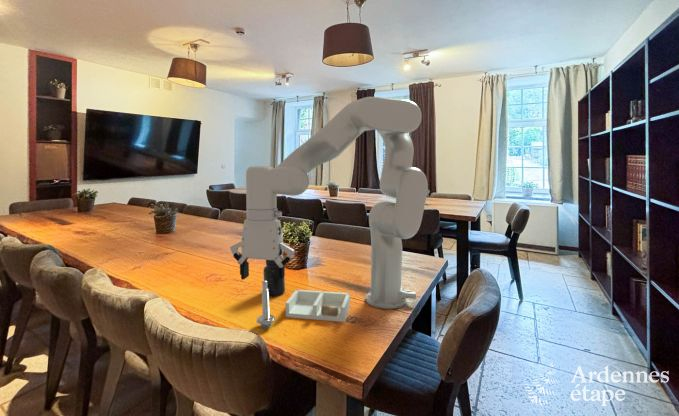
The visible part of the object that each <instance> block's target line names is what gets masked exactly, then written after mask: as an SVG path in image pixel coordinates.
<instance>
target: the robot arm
mask: <svg viewBox="0 0 679 416" xmlns="http://www.w3.org/2000/svg"><path fill="white" fill-rule="evenodd" d="M421 122H422V110H421V108H420V107H419V105H417V103H415V102H414V101H411V100H407V99H397V98H389V97H379V96H366V97H362V98H359V99H356V100H353V101H351V102H349V103H348V104H347V105H345V106H344V107H343V108H341V110H340V111H339V112H337V113H336V114H335V115H334V116H333V117H332V118H331V119H330V120H329V121H328V122H327V123H326V124H324V126H323V127H322V128H320V129H319V130H318V131H317V132H316V133H315V134H313V135H312V136H311V137H309V138H308V139H307V140H306V141H305V142H304V143H302V144H301V145H300V146H299V147H297V148H295V150H293V151H292V152H291V153H289V155H287V157H285V159H283V160H282V161H281V162H280V163H279V164H278V165H277V166H276V167H272V166H261V165H259V166H258V165H256V166H252V165H251V166H249V167H248V168H247V169H246V172H245V188H246V189H245V190H246V191H245V194H246V195H245V198H246V200H245V201H246V202H245V203H246V205H245V206H246V210H245V211H246V219H244V222H243V226H242V230H241V241H239V242H237V243H235V244H233V245H231V246H229V249H230V252H231V254H233V255H232V257H233V258H234V259H235V260H236V261H237V264H238V265H239V275H240V279H241V280H245V279H246V278H248V277H249V276H250V267H249V266H250V265H249V261H248V259H253V260H265V261H266V260H274V261H275V262H276V264H277V265H278V267H277V268H276V282H277V283H280V282H281V281H282V280H283V278H285V275H286V274H285V273H286V271H285V269H286V268H285V266H286V264H288V263H289V262H290V261H291V260H292V258H293V256H294V254H295V251H296V250H295V249H294V248H291V247H290V246H288V245H287V244H285V243H284V238H283V229H282V224H281V220H280V219H278V218H279V217H282V216H283V212H282V211H279V210H278V207H277V205H278V204H277V201H278V199H277V195H284V196H291V197H294V196H295V197H296V196H300V195H302V194H303V193H305V192H306V191H307V189H308V188H309V186H310V177H309V175H308V174H309V173H310V172H311V171H312V170H313V169H315V168H317V167H318V166H320V165H322V164H326V163H328V162H330V161H332V160H334V159H336V158H337V157H339V156H340V155H342V153H343V152H345V150H346V149H347V148H348V147H350V145H351V144H353V142H355V140H356V139H357V138H358V137H360V135H362V134H363V133H364V132H367V131H372V130H373V131H376V132H378V134H379V135H380V137H381V139H382V141H383V143H384V147H385V149H384V150H385V151H384V152H385V153H384V160H383V164H382V168H381V169H382V170H381V173H380V180H379V190H380V192H381V193H382V194H383V195H384V196H386V197H389V198H391V199H395V202H392V201H380V202H377V203H376V204H374V205H373V206H372V207H371V209H370V211H369V212H368V213H369V214H368V224H369V231H370V241H371V242H370V245H371V250H370V251H371V252H370V253H371V255H370V292H368V293H366V295H365V302H366V303H367V304H368V305H370V306H371V307H374V308H377V309H378V308H379V309H383V310H393V309H398V308H401V307H403V306H404V305H405V304H406V303H407V299H410V300H411V299H412V300H416V299H417V292H415V291H413V292H412V289H404V288H403V284H402V271H403V270H402V269H403V268H402V267H403V243H402V240H408V239H411V238H413V237H414V236H415V235H416V234H417V233H418V232H419V230H420V227H421V224H422V221H423V216H424V211H425V205H426V201H427V195H428V190H429V184H428V178H427V176H426V174H425V172H423V171H422V170H421V169H420V168H418V167H414V166H413V160H414V152H415V150H414V143H413V140H412V138H411V135H410V134H409V133H412V132H414V131H415V130H417V129H418V128H419V126H420V124H421ZM239 249H241V251H239ZM284 252H285V253H286V254H287V255H286V256H285V258H284V257H283V254H284Z"/></svg>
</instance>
